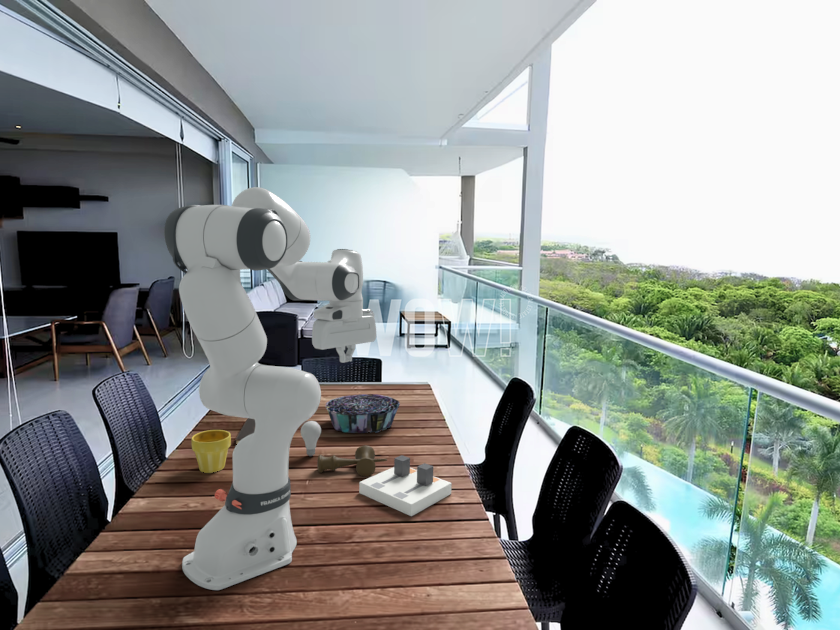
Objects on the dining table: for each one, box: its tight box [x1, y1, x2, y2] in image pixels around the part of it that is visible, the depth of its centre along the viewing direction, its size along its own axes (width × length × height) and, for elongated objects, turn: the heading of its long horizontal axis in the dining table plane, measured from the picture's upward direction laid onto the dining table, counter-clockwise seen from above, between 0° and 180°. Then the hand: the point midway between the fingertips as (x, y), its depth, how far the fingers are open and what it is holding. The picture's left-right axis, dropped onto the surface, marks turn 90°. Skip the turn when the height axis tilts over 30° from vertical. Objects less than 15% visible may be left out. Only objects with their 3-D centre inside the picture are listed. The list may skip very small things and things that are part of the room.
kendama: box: [316, 444, 388, 477], centre depth 148 cm, size 6×10×20 cm
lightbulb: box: [300, 420, 322, 457], centre depth 157 cm, size 6×6×11 cm
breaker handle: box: [393, 455, 411, 477], centre depth 139 cm, size 3×3×4 cm
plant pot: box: [191, 429, 232, 474], centre depth 147 cm, size 10×10×10 cm
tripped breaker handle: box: [416, 462, 434, 486], centre depth 134 cm, size 3×3×4 cm
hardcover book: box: [234, 418, 256, 444], centre depth 178 cm, size 16×23×2 cm
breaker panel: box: [358, 466, 452, 517], centre depth 134 cm, size 16×18×3 cm
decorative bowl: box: [324, 393, 401, 434], centre depth 188 cm, size 26×28×10 cm
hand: (345, 361), depth 138 cm, fingers closed
